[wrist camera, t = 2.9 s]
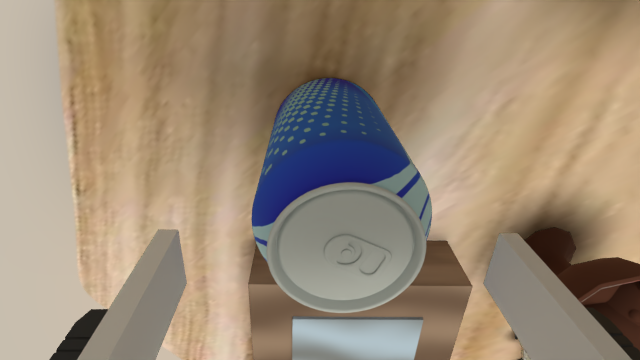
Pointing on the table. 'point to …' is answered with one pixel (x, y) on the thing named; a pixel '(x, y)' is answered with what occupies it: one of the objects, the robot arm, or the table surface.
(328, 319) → the walnut plinth
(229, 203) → the table surface
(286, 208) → the beer can
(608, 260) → the ice cream bowl
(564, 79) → the table surface
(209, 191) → the table surface
